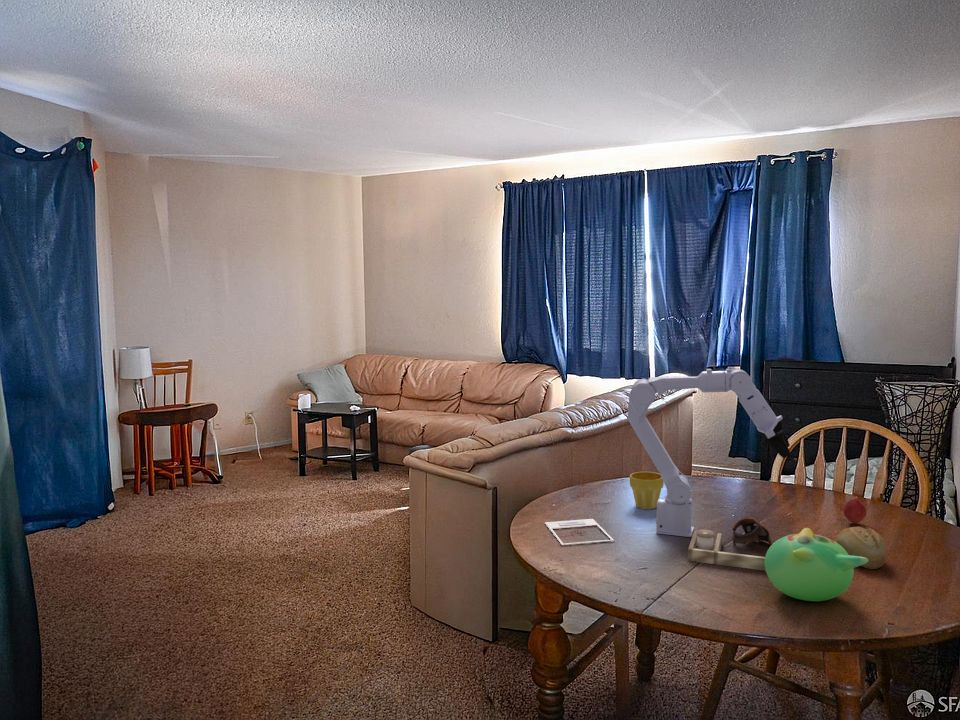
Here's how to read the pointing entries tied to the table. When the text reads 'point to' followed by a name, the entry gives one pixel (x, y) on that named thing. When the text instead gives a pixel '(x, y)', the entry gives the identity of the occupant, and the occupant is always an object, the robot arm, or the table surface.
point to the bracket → (723, 556)
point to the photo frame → (574, 524)
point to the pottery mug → (750, 532)
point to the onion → (854, 510)
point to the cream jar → (705, 539)
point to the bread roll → (864, 545)
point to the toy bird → (810, 566)
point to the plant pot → (646, 488)
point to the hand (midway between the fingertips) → (786, 451)
